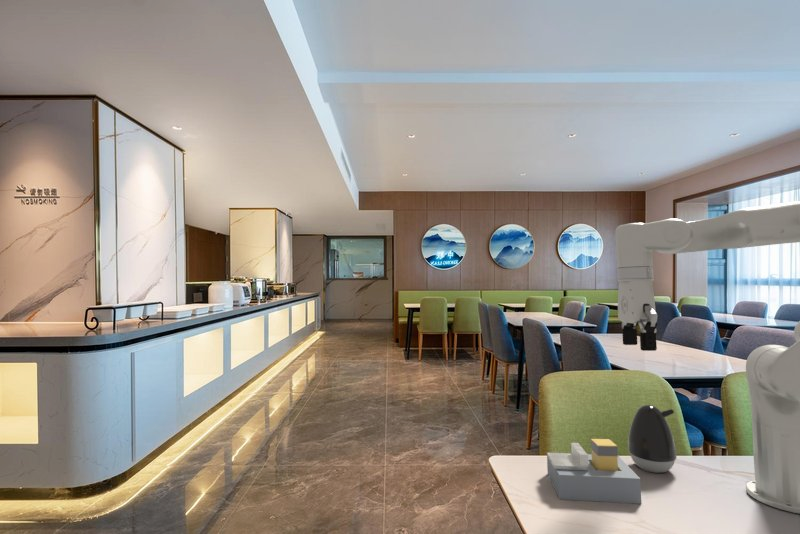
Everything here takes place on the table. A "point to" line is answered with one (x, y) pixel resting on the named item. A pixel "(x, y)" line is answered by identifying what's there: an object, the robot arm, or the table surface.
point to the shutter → (570, 459)
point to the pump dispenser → (652, 440)
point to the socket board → (597, 483)
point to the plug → (604, 454)
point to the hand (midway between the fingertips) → (639, 347)
